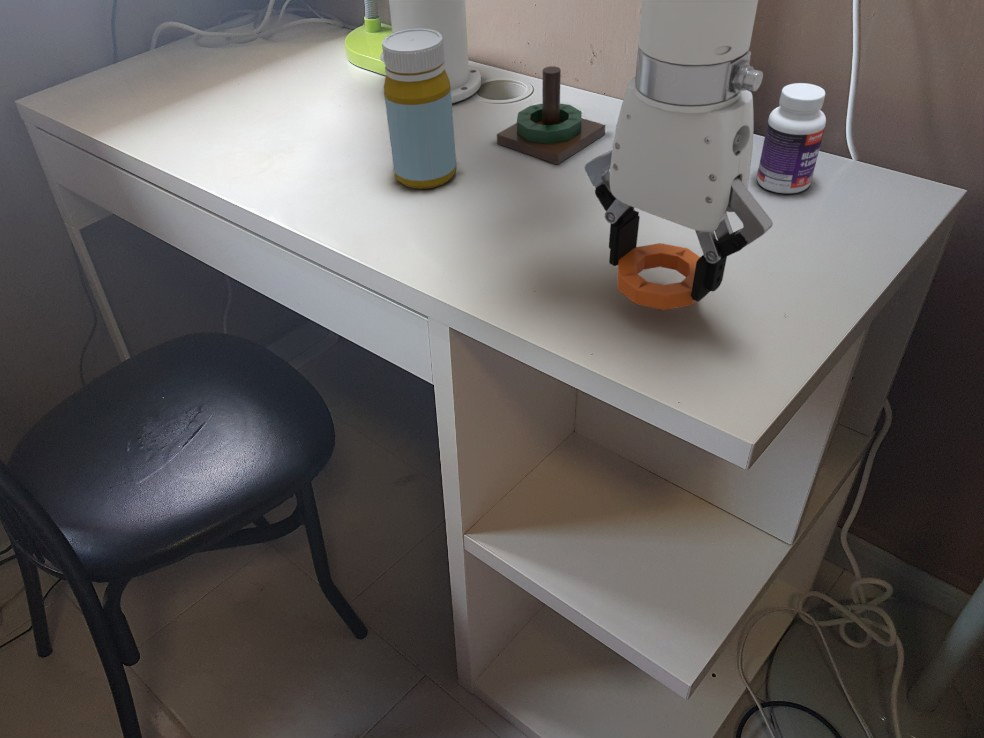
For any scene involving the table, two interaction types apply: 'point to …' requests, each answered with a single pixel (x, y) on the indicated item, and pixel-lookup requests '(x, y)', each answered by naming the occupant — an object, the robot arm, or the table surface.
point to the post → (551, 117)
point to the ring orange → (653, 292)
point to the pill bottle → (792, 139)
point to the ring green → (552, 132)
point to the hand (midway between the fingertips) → (662, 274)
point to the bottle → (419, 108)
